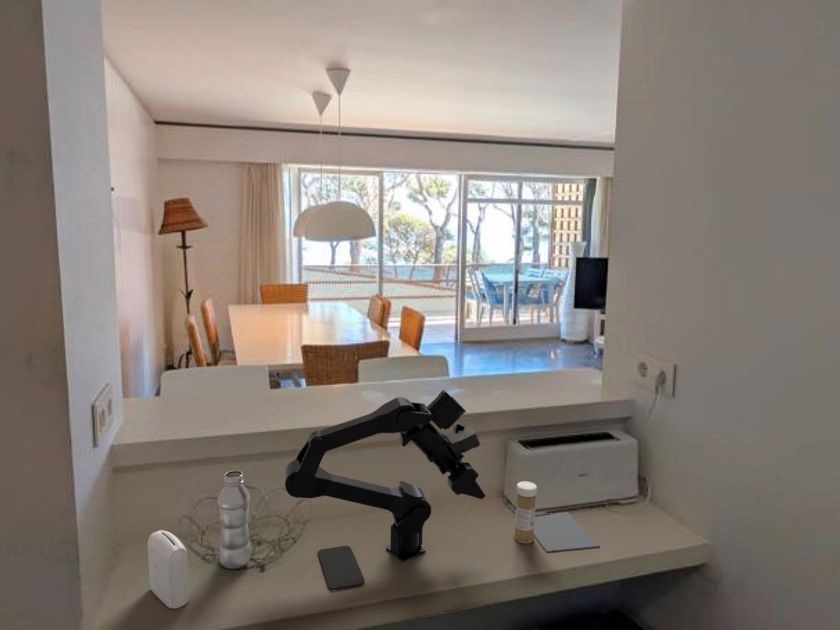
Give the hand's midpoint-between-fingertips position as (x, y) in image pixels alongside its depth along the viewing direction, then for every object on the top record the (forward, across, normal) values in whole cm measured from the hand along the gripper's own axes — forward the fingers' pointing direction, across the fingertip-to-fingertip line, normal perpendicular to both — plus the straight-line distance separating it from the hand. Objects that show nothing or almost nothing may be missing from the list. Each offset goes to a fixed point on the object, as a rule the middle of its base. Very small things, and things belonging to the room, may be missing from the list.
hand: (477, 488), depth 133 cm
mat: (+24, +2, -6) cm, 25 cm away
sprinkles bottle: (+18, 0, +1) cm, 18 cm away
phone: (-11, -4, +32) cm, 34 cm away
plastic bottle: (-26, +1, +47) cm, 54 cm away
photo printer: (-34, -8, +55) cm, 66 cm away
